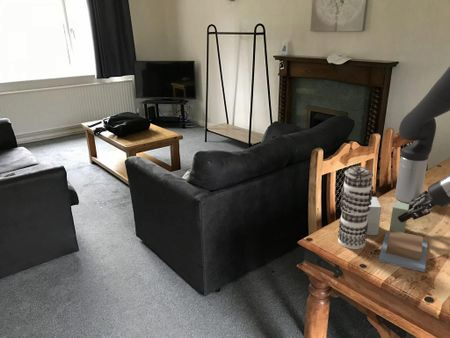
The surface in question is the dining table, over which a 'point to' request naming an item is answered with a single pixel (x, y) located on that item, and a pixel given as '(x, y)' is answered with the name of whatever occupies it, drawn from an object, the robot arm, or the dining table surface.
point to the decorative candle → (355, 207)
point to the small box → (373, 217)
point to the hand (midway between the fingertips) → (400, 216)
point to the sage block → (397, 211)
